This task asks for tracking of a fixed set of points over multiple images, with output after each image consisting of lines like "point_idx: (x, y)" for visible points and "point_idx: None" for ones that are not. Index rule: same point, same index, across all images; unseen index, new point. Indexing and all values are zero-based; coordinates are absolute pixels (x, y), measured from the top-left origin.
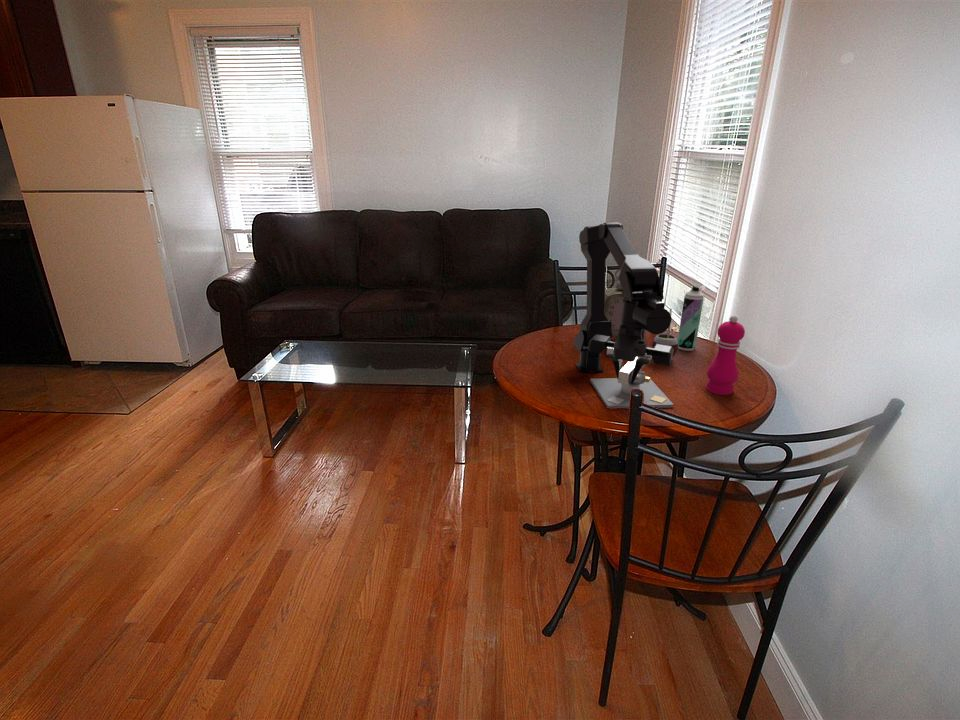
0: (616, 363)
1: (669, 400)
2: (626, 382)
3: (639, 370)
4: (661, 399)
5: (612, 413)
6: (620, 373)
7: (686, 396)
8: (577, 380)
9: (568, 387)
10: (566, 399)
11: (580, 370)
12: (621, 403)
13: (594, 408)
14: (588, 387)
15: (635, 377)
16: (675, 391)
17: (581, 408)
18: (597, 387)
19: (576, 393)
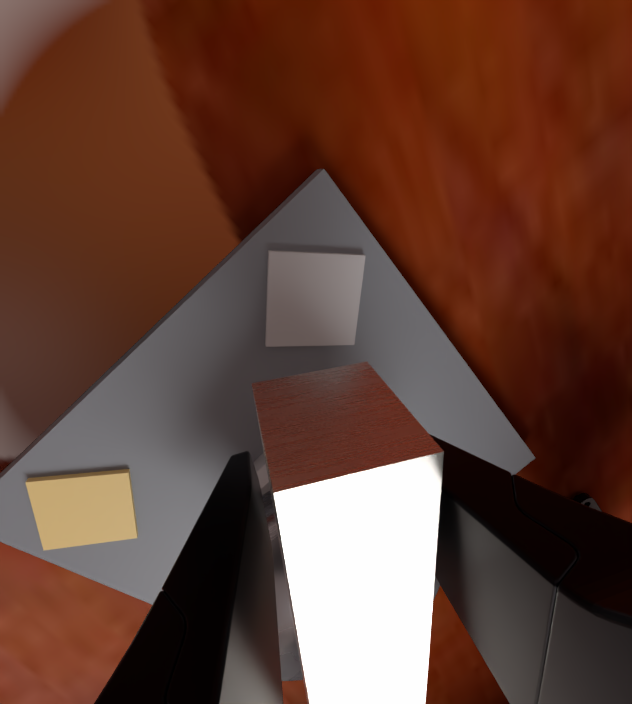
0: (593, 555)
1: (21, 546)
2: (272, 393)
3: (120, 661)
4: (64, 520)
5: (253, 116)
6: (401, 435)
7: (18, 652)
8: (583, 412)
9: (615, 304)
10: (606, 127)
11: (593, 499)
12: (258, 286)
13: (402, 112)
14: (516, 381)
15: (200, 519)
16: (105, 651)
17: (486, 40)
18: (477, 392)
19: (562, 262)
